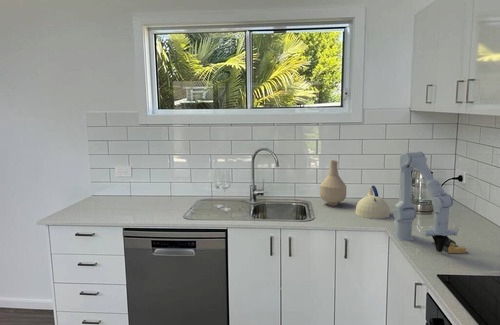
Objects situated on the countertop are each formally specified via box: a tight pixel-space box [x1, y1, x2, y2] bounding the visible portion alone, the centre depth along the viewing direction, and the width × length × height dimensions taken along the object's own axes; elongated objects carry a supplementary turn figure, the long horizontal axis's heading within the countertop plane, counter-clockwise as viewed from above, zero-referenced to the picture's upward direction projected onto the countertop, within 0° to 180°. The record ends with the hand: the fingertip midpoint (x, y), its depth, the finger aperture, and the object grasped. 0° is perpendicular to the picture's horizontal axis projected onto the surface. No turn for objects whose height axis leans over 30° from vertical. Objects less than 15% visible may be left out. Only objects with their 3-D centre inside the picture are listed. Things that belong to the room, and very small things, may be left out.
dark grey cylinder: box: [444, 238, 457, 247], centre depth 176 cm, size 7×4×4 cm, turn 5°
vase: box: [319, 160, 347, 207], centre depth 256 cm, size 18×18×30 cm
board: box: [431, 242, 470, 255], centre depth 171 cm, size 24×10×2 cm, turn 5°
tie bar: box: [448, 246, 467, 254], centre depth 170 cm, size 2×7×3 cm, turn 95°
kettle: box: [355, 185, 390, 220], centre depth 232 cm, size 20×21×18 cm
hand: (439, 251), depth 169 cm, fingers closed
